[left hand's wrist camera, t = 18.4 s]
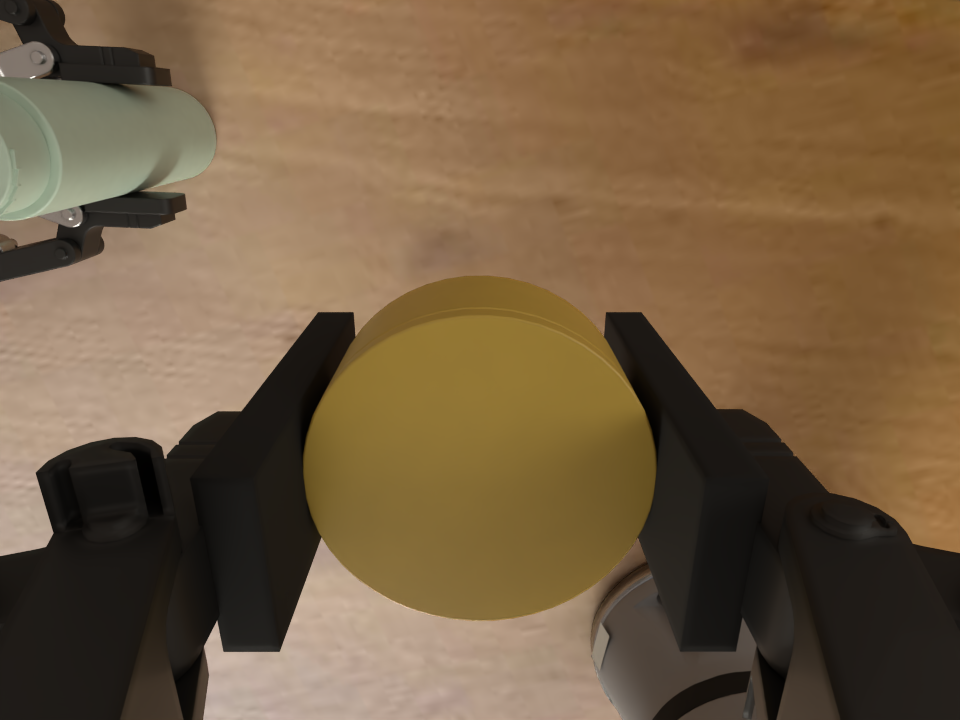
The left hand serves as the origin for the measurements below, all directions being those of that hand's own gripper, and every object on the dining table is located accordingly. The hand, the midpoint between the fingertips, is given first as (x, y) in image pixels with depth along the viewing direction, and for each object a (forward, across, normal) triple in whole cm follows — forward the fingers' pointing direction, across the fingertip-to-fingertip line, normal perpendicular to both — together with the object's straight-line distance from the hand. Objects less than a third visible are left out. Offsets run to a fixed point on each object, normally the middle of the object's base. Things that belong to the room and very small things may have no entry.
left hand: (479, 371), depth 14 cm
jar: (+23, +16, -4) cm, 29 cm away
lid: (-4, 0, 0) cm, 4 cm away
